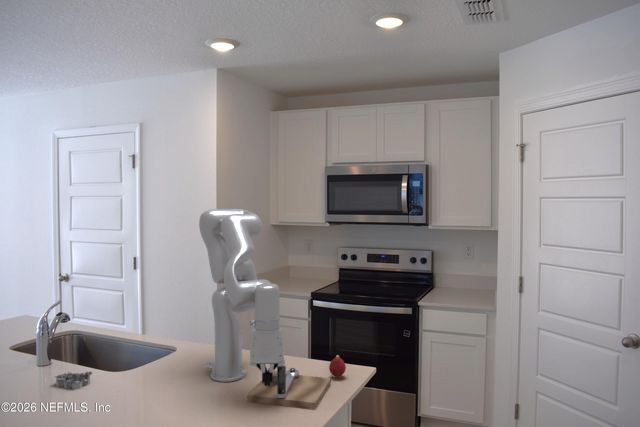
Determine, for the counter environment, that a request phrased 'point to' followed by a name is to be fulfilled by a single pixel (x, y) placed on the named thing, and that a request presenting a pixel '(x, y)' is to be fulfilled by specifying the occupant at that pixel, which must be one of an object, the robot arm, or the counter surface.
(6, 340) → the counter surface
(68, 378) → the egg carton
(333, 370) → the onion
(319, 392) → the board
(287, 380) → the lever
